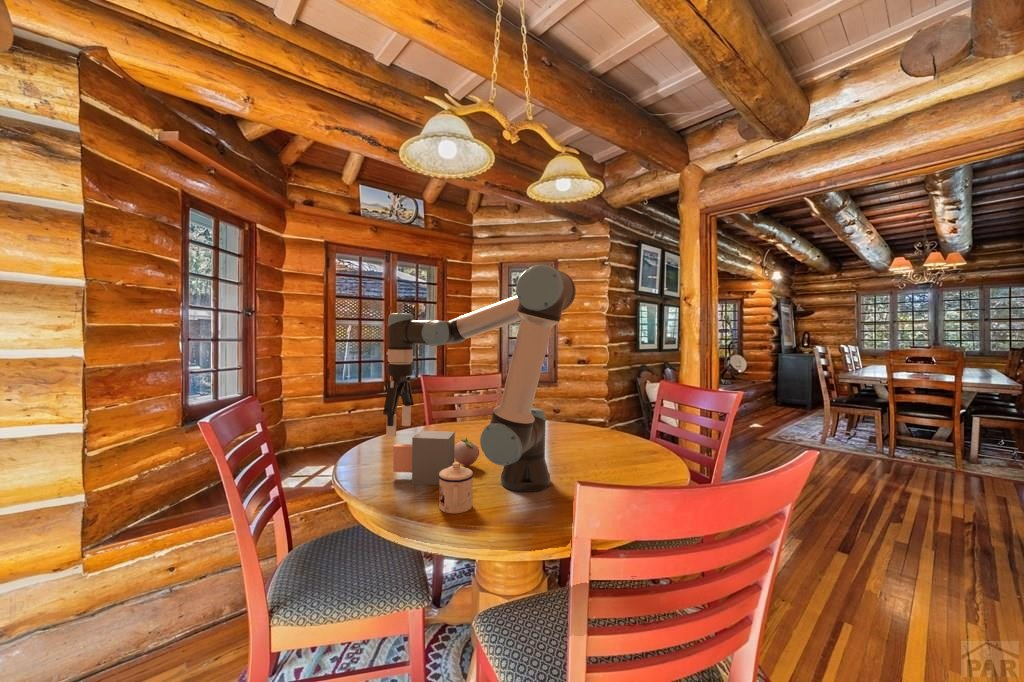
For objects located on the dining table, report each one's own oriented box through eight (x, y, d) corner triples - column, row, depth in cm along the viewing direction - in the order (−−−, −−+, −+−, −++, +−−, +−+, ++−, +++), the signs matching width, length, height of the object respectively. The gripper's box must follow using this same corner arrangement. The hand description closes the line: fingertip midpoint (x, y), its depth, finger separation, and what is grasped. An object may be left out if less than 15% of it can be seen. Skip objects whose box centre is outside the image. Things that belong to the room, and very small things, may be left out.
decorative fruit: (447, 465, 142) (448, 436, 142) (468, 461, 147) (468, 433, 147) (462, 473, 135) (462, 442, 134) (483, 468, 140) (483, 438, 140)
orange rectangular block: (447, 471, 130) (447, 445, 130) (445, 473, 127) (445, 448, 127) (396, 469, 131) (396, 444, 131) (393, 471, 129) (393, 446, 128)
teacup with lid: (439, 500, 113) (439, 458, 113) (472, 499, 114) (473, 457, 114) (436, 520, 101) (436, 473, 101) (473, 519, 102) (474, 472, 102)
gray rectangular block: (454, 474, 133) (454, 431, 133) (447, 485, 124) (448, 438, 124) (420, 473, 134) (420, 430, 134) (411, 483, 125) (411, 437, 125)
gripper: (401, 359, 142) (400, 421, 142) (371, 366, 117) (370, 440, 117) (423, 360, 141) (422, 422, 142) (397, 367, 116) (396, 442, 117)
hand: (399, 430), depth 130 cm, fingers open, 13 cm apart
